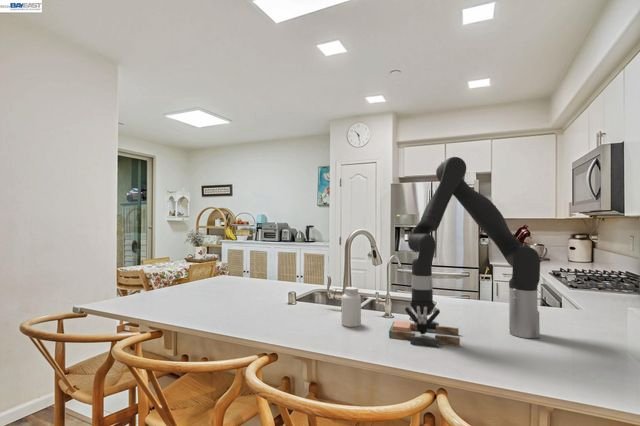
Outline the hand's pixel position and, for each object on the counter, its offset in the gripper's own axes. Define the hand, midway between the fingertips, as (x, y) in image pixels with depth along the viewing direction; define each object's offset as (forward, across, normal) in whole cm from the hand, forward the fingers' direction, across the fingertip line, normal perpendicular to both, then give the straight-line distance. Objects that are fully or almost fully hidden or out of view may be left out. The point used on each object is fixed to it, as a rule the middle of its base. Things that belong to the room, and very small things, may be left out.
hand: (422, 333), depth 128 cm
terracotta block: (+1, +7, +1) cm, 8 cm away
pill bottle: (+1, +28, -4) cm, 29 cm away
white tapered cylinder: (+1, +3, -20) cm, 20 cm away
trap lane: (+1, -1, 0) cm, 1 cm away
